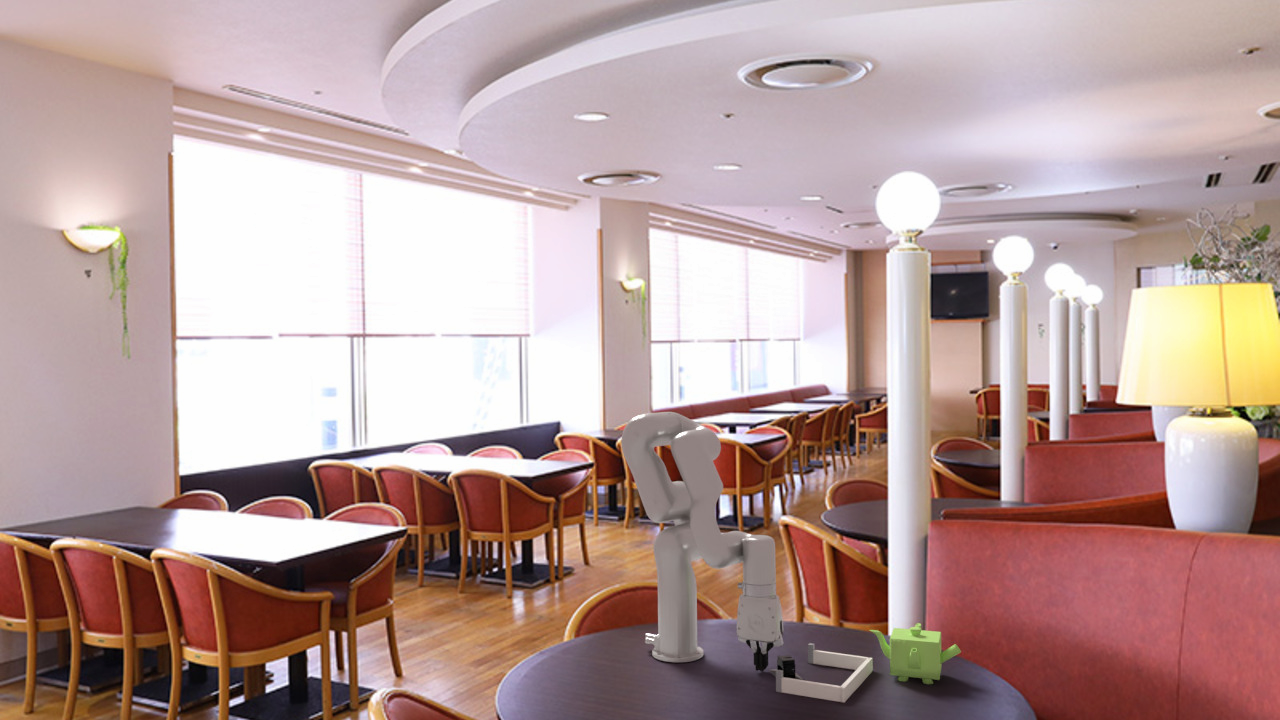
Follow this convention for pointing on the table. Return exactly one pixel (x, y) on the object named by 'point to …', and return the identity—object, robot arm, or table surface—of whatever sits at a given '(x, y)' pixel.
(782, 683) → the bay
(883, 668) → the table surface
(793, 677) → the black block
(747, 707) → the table surface
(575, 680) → the table surface
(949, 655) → the kettle
